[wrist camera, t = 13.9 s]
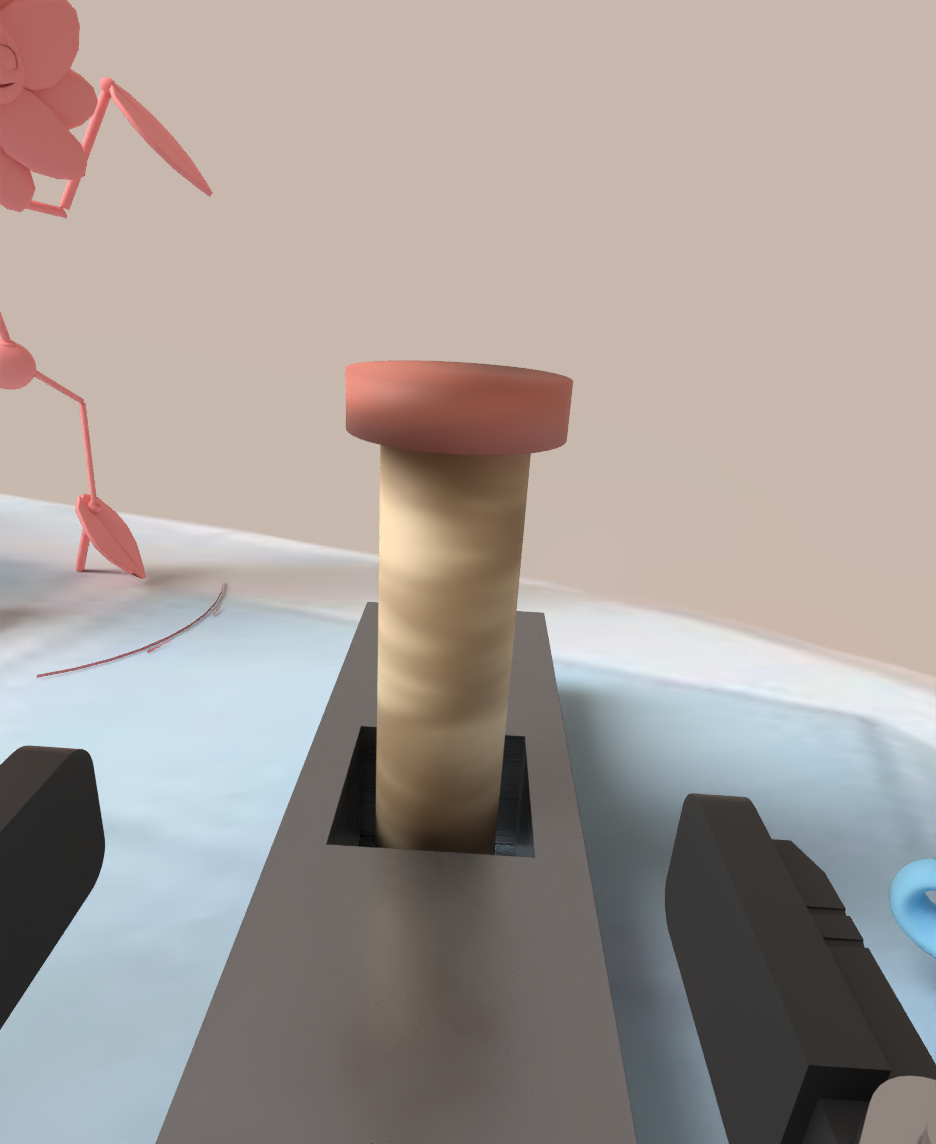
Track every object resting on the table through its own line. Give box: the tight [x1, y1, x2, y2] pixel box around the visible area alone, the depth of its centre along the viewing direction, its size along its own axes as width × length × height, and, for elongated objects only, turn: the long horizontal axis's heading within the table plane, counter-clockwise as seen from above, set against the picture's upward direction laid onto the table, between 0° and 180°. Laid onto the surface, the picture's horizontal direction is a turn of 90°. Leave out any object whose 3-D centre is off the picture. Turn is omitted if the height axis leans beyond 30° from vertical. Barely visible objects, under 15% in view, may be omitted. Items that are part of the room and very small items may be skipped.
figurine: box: [0, 0, 223, 678], centre depth 37 cm, size 15×26×35 cm, turn 146°
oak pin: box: [346, 361, 573, 855], centre depth 22 cm, size 6×6×18 cm
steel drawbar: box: [156, 602, 637, 1144], centre depth 24 cm, size 9×28×5 cm, turn 178°
